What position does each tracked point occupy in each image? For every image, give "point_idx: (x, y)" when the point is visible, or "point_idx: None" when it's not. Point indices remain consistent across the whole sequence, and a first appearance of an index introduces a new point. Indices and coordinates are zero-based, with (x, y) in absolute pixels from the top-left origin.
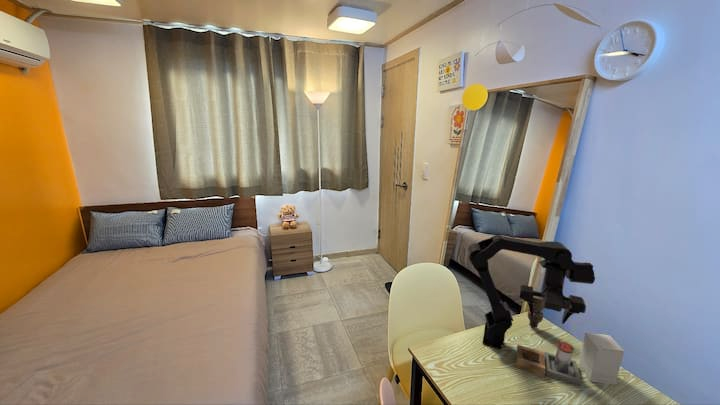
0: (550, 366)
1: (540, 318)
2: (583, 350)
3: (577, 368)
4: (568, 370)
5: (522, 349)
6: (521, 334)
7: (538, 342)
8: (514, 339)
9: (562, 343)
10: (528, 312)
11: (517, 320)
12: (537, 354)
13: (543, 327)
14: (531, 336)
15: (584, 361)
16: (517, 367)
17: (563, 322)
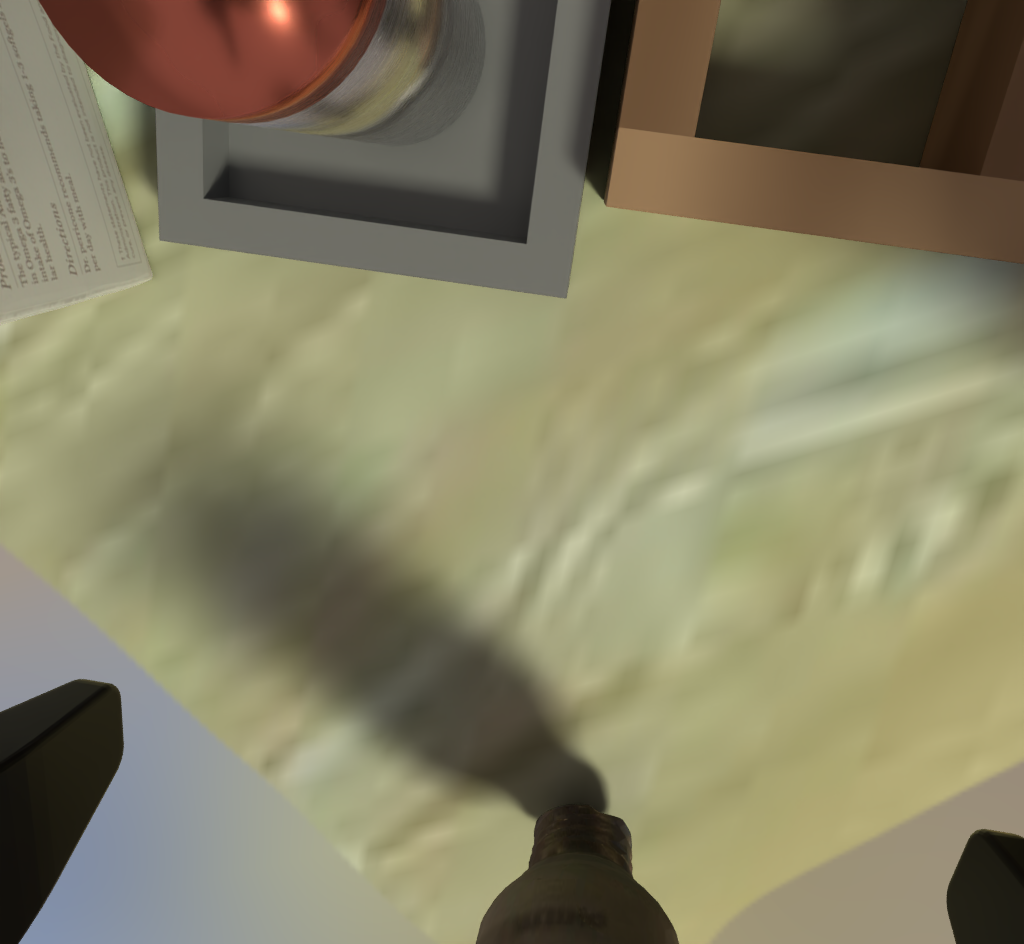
0: (529, 40)
1: (518, 934)
2: None
3: None
4: None
5: (958, 175)
6: (768, 649)
7: (576, 554)
8: (903, 519)
9: (256, 16)
10: None
11: (747, 894)
12: (715, 140)
13: (454, 842)
14: (641, 645)
15: (16, 155)
16: None
17: (50, 710)
